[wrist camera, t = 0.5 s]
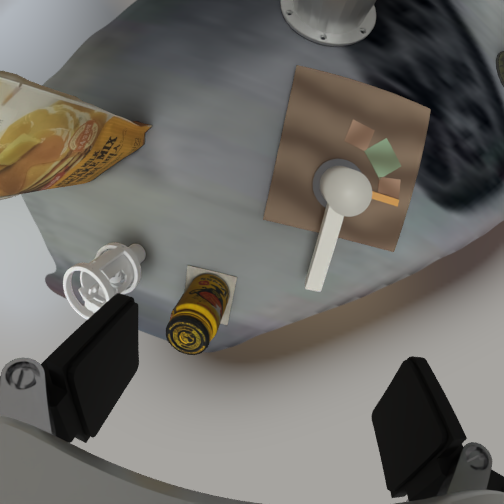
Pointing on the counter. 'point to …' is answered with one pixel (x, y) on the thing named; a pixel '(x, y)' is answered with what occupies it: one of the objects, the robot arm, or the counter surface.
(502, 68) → the thermos
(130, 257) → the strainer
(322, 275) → the white handled piece
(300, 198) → the brown square board
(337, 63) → the counter surface
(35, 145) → the pancake mix bag
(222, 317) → the condiment
